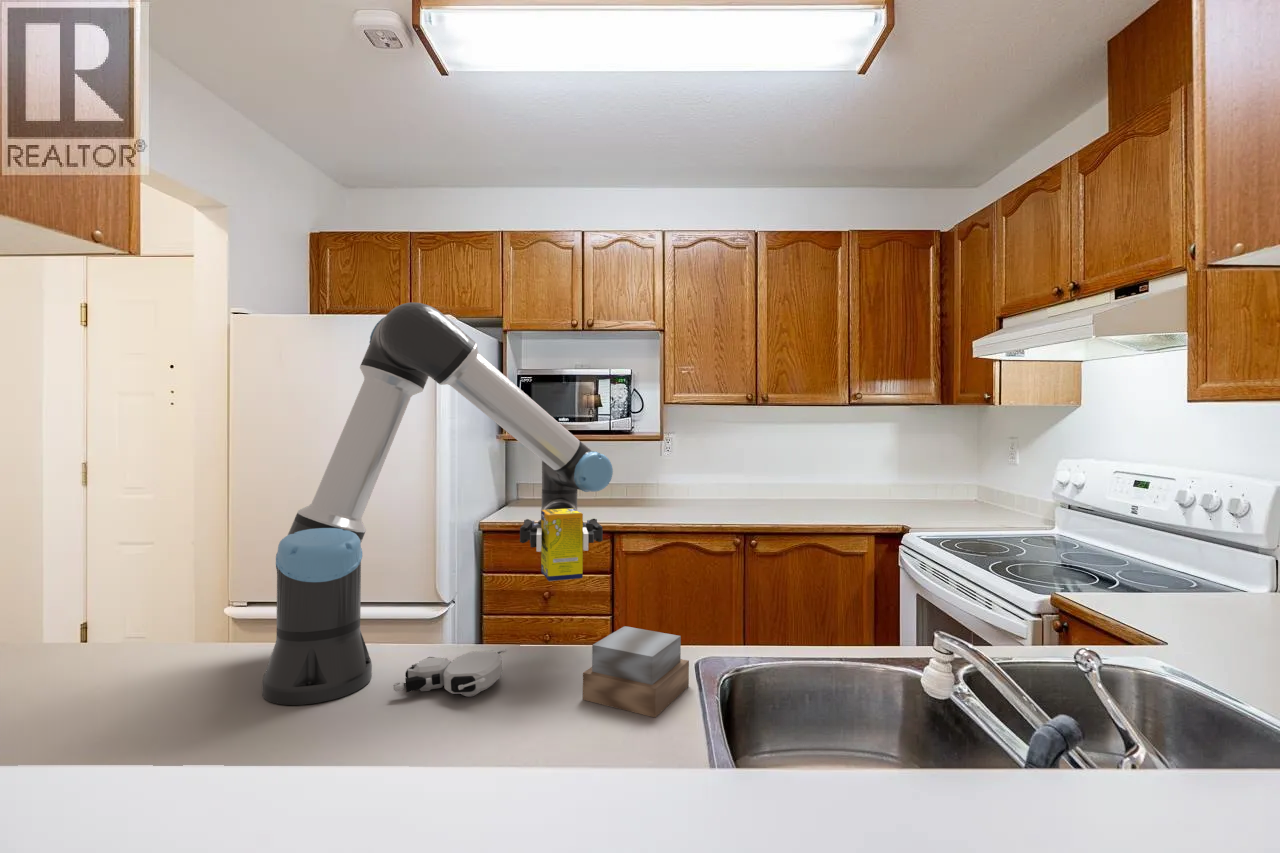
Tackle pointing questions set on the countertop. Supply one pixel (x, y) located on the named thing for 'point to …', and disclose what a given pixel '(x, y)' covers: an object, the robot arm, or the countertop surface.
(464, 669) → the robot toy
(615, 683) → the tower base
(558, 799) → the countertop surface
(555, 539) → the supplement box
